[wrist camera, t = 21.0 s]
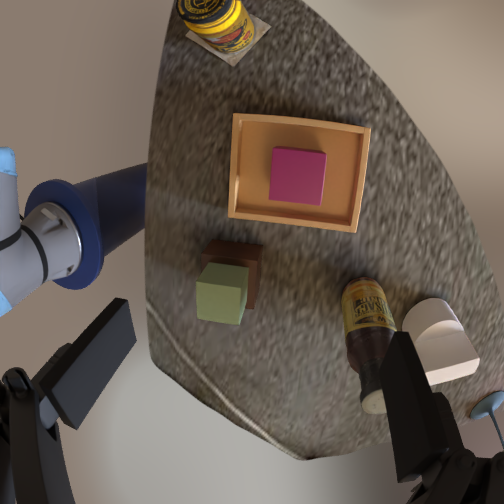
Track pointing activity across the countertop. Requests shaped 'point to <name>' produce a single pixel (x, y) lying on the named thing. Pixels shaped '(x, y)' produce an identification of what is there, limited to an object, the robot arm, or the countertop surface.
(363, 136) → the oak tray
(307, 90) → the countertop surface
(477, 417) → the cocktail glass
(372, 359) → the sauce bottle
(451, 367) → the base with upright slab
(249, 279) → the walnut block
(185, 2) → the condiment
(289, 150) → the mulberry block
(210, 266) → the sage block
